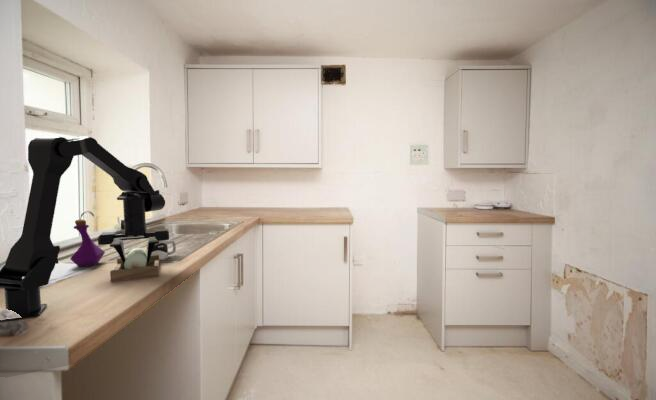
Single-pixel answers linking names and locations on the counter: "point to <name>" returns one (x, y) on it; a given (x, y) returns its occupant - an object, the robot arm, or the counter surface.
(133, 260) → the roll
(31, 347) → the counter surface
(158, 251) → the mug
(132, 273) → the holder
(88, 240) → the perfume bottle
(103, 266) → the counter surface
